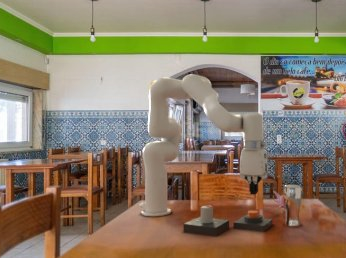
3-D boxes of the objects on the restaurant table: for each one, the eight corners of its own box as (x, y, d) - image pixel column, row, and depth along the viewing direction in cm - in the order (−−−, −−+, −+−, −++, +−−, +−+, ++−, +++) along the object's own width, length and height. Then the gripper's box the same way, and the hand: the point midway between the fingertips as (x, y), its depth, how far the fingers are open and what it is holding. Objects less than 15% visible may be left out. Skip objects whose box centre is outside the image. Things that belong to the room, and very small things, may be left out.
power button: (246, 217, 133) (246, 212, 133) (250, 215, 137) (250, 210, 137) (256, 218, 132) (256, 213, 132) (260, 216, 135) (260, 211, 135)
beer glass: (301, 227, 132) (300, 187, 132) (282, 226, 134) (282, 187, 134) (301, 222, 139) (301, 184, 139) (283, 222, 141) (283, 184, 141)
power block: (233, 228, 132) (233, 217, 132) (243, 221, 141) (243, 211, 141) (263, 231, 127) (263, 220, 127) (272, 224, 136) (272, 214, 136)
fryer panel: (183, 232, 127) (183, 223, 127) (199, 224, 137) (199, 216, 137) (215, 236, 122) (215, 227, 122) (229, 228, 132) (229, 219, 132)
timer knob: (198, 222, 129) (198, 206, 129) (204, 219, 133) (204, 204, 133) (209, 223, 127) (209, 207, 127) (214, 221, 131) (214, 205, 131)
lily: (295, 221, 146) (302, 199, 149) (268, 210, 146) (276, 188, 149) (287, 222, 157) (294, 202, 161) (263, 212, 157) (270, 192, 160)
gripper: (275, 145, 135) (275, 193, 135) (239, 145, 141) (239, 191, 141) (268, 146, 128) (269, 196, 128) (231, 145, 134) (231, 194, 134)
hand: (253, 193), depth 134 cm, fingers closed
